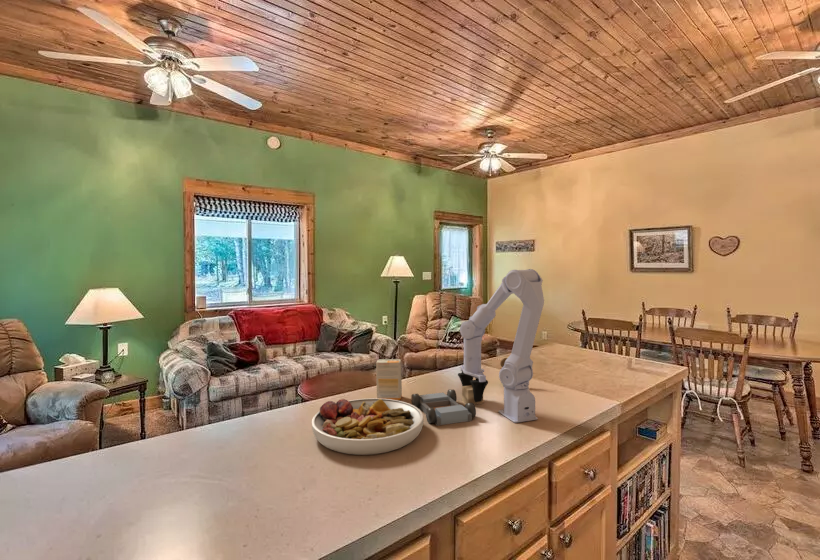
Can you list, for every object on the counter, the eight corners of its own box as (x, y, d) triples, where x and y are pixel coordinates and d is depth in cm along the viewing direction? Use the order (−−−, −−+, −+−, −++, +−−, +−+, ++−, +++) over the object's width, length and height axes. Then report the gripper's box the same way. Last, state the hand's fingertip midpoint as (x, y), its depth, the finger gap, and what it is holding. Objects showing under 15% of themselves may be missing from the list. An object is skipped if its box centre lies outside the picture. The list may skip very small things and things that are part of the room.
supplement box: (402, 396, 142) (401, 358, 142) (400, 400, 138) (400, 362, 137) (378, 395, 143) (378, 358, 143) (376, 400, 138) (375, 361, 138)
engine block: (483, 403, 135) (483, 388, 134) (468, 405, 133) (468, 390, 133) (476, 399, 139) (476, 384, 139) (462, 401, 137) (462, 386, 137)
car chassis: (476, 420, 120) (476, 405, 120) (431, 426, 116) (431, 411, 116) (450, 399, 138) (450, 387, 138) (410, 404, 134) (410, 391, 134)
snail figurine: (518, 387, 151) (518, 355, 150) (501, 387, 151) (501, 355, 151) (515, 383, 156) (515, 351, 156) (498, 383, 156) (498, 352, 156)
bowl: (434, 419, 122) (433, 393, 122) (406, 468, 93) (405, 434, 93) (341, 410, 130) (341, 385, 130) (289, 452, 101) (288, 421, 101)
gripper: (494, 361, 130) (494, 403, 130) (473, 351, 143) (473, 389, 144) (474, 362, 127) (474, 405, 128) (454, 353, 141) (455, 392, 142)
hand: (472, 397), depth 136 cm, fingers open, 7 cm apart
